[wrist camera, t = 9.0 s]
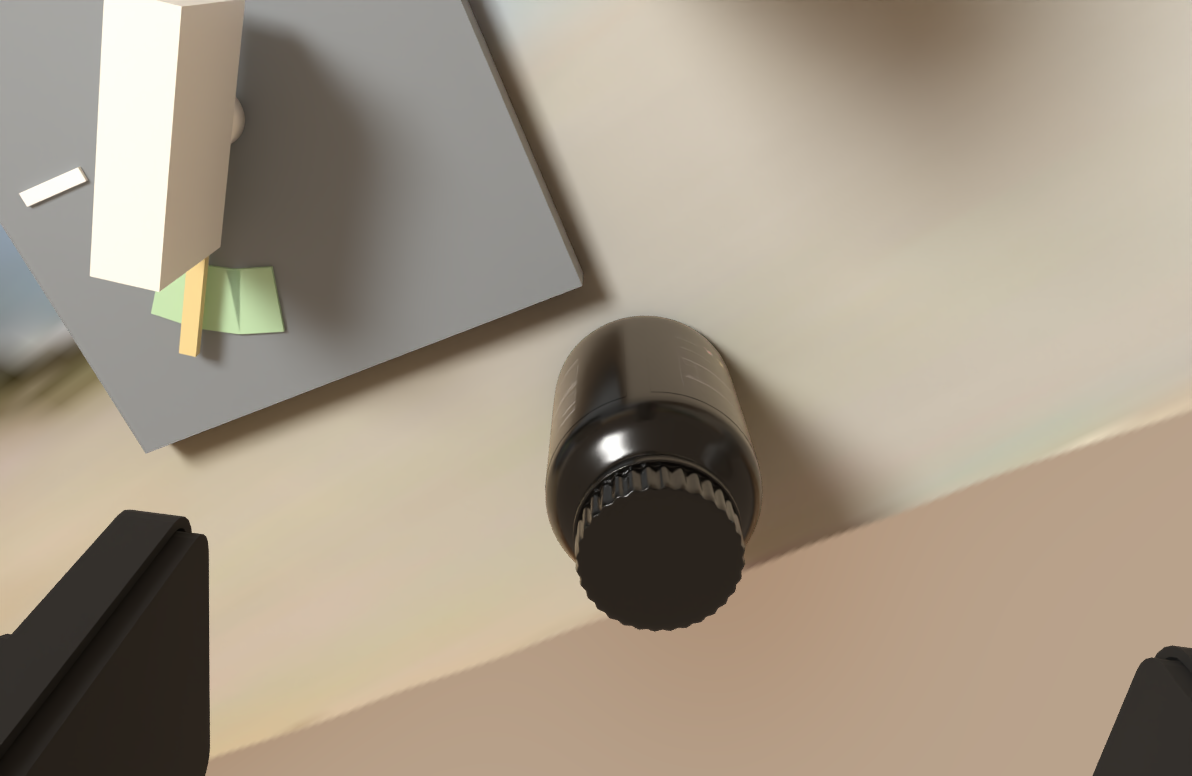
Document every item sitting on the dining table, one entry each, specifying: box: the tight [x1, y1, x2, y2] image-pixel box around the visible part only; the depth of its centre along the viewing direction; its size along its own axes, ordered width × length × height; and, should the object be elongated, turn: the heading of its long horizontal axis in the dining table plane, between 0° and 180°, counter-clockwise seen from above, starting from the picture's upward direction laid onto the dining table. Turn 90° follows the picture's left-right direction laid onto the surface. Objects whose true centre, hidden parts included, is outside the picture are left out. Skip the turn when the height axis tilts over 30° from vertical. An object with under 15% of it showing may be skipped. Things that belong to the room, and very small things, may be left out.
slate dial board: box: [0, 0, 583, 453], centre depth 35 cm, size 18×20×2 cm
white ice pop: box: [90, 0, 245, 357], centre depth 32 cm, size 12×2×6 cm, turn 167°
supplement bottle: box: [545, 316, 762, 631], centre depth 34 cm, size 7×7×12 cm
